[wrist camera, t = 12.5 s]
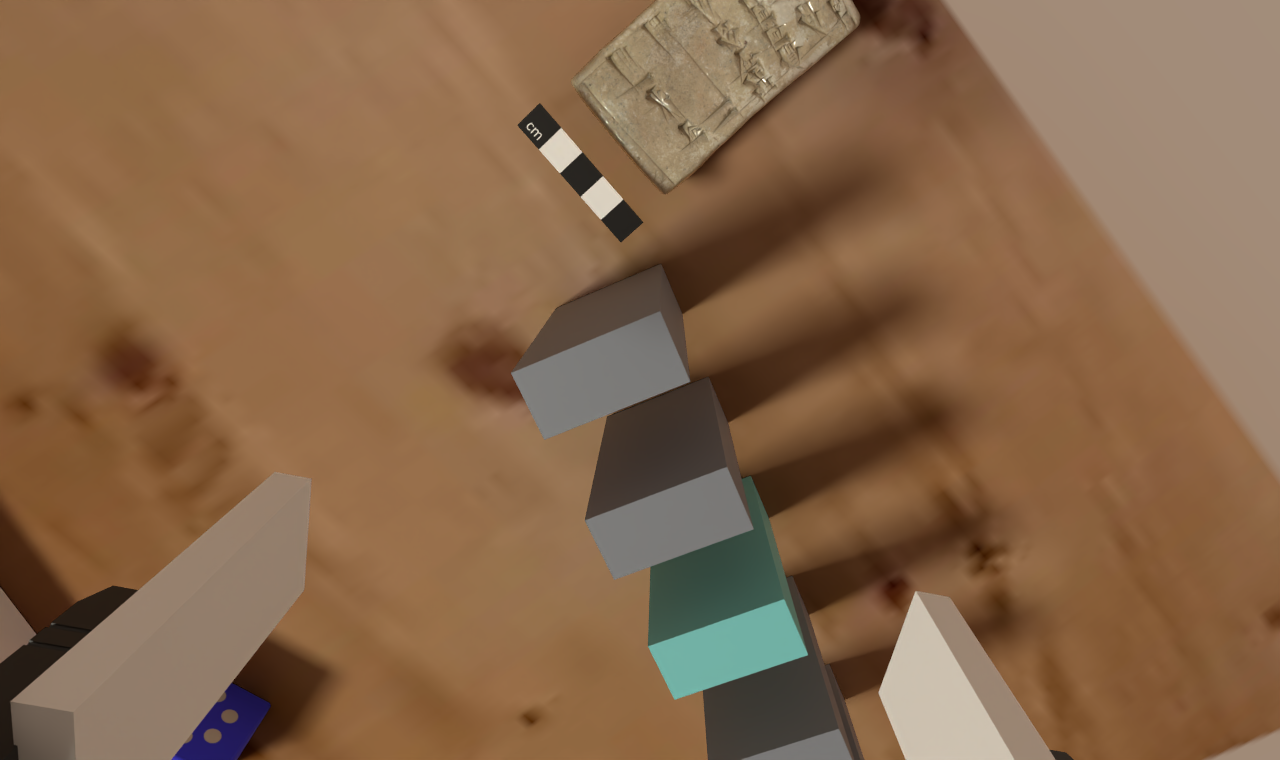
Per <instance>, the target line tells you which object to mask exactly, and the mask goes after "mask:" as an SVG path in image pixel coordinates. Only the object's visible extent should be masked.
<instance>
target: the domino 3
mask: <svg viewBox="0 0 1280 760" xmlns="http://www.w3.org/2000/svg"><path fill="white" fill-rule="evenodd" d="M742 483H743V487H744V491H745V495H746V499H747V504H748V508H749V512H750V516H751V520H752V524H753V528H754V529H753V530H750V531H747V532H745V533H742V534H739V535H736V536H734V537H731V538H728V539H725V540H723V541H720V542H717V543H714V544H712V545H709V546H706V547H703V548H700V549H698V550H695V551H692V552H689V553H687V554H684V555H681V556H678V557H676V558H673V559H670V560H667V561H665V562H662V563H659V564H656V565H654V566H651V570H650V601H649V632H648V647H649V649H650V651H651V653H652V655H653V657H654V659H655V661H656V663H657V665H658V667H659V669H660V671H661V673H662V675H663V677H664V679H665V681H666V683H667V685H668V687H669V689H670V691H671V693H672V695H673V697H674V699H678V698H681V697H684V696H687V695H690V694H693V693H696V692H699V691H702V690H705V689H708V688H711V687H714V686H717V685H720V684H723V683H726V682H729V681H732V680H735V679H738V678H741V677H744V676H747V675H750V674H753V673H756V672H759V671H762V670H765V669H768V668H771V667H774V666H777V665H780V664H783V663H786V662H789V661H792V660H795V659H798V658H801V657H804V656H807V655H808V653H807V649H806V646H805V642H804V639H803V635H802V632H801V628H800V625H799V621H798V618H797V614H796V611H795V607H794V604H793V601H792V597H791V594H790V590H789V587H788V583H787V580H786V576H785V573H784V569H783V566H782V562H781V559H780V555H779V552H778V548H777V545H776V542H775V538H774V535H773V531H772V528H771V524H770V521H769V518H768V515H767V513H766V511H765V508H764V506H763V503H762V501H761V499H760V496H759V494H758V492H757V489H756V487H755V484H754V482H753V480H752V477H751V476H748V477H746V478H743V479H742Z"/></svg>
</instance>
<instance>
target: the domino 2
mask: <svg viewBox="0 0 1280 760" xmlns="http://www.w3.org/2000/svg"><path fill="white" fill-rule="evenodd" d="M585 522H586V524H587V526H588V528H589V530H590V532H591V534H592V536H593V538H594V540H595V542H596V544H597V546H598V548H599V550H600V552H601V554H602V556H603V558H604V560H605V562H606V564H607V566H608V568H609V570H610V572H611V574H612V576H613V578H614V580H615V579H618V578H620V577H623V576H626V575H629V574H631V573H634V572H637V571H640V570H643V569H645V568H648V567H651V566H654V565H656V564H659V563H662V562H665V561H667V560H670V559H673V558H676V557H678V556H681V555H684V554H687V553H689V552H692V551H695V550H698V549H700V548H703V547H706V546H709V545H712V544H714V543H717V542H720V541H723V540H725V539H728V538H731V537H734V536H736V535H739V534H742V533H745V532H747V531H750V530H753V529H754V528H753V524H752V520H751V516H750V512H749V508H748V504H747V499H746V495H745V491H744V487H743V483H742V479H741V475H740V470H739V466H738V462H737V458H736V454H735V450H734V446H733V441H732V437H731V433H730V429H729V425H728V422H727V419H726V417H725V414H724V412H723V410H722V407H721V405H720V403H719V400H718V398H717V395H716V393H715V391H714V388H713V386H712V383H711V381H710V379H709V377H706V378H704V379H701V380H699V381H696V382H694V383H691V384H689V385H686V386H684V387H681V388H679V389H676V390H674V391H671V392H668V393H666V394H663V395H661V396H658V397H656V398H653V399H651V400H648V401H646V402H643V403H641V404H638V405H636V406H633V407H631V408H628V409H626V410H623V411H621V412H618V413H616V414H613V415H611V416H608V417H607V420H606V424H605V429H604V434H603V438H602V443H601V447H600V452H599V457H598V461H597V466H596V471H595V475H594V480H593V485H592V489H591V494H590V499H589V503H588V508H587V512H586V517H585Z"/></svg>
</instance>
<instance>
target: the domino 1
mask: <svg viewBox="0 0 1280 760" xmlns="http://www.w3.org/2000/svg"><path fill="white" fill-rule="evenodd" d="M511 374H512V376H513V378H514V380H515V382H516V384H517V386H518V388H519V390H520V392H521V394H522V396H523V398H524V400H525V402H526V404H527V406H528V408H529V410H530V412H531V414H532V416H533V418H534V420H535V422H536V424H537V426H538V428H539V430H540V432H541V434H542V436H543V438H544V440H545V439H547V438H550V437H553V436H555V435H558V434H560V433H563V432H565V431H568V430H570V429H573V428H575V427H578V426H580V425H583V424H585V423H588V422H590V421H593V420H595V419H598V418H600V417H603V416H605V415H608V414H610V413H613V412H615V411H618V410H620V409H623V408H625V407H628V406H630V405H633V404H635V403H638V402H641V401H643V400H646V399H648V398H651V397H653V396H656V395H658V394H661V393H663V392H666V391H668V390H671V389H673V388H676V387H678V386H681V385H683V384H686V383H688V382H690V375H689V366H688V358H687V349H686V341H685V332H684V324H683V315H682V312H681V310H680V307H679V305H678V303H677V300H676V298H675V295H674V293H673V291H672V288H671V286H670V283H669V281H668V279H667V276H666V274H665V272H664V269H663V267H662V264H659V265H657V266H654V267H652V268H650V269H647V270H645V271H643V272H640V273H638V274H635V275H633V276H631V277H628V278H626V279H624V280H621V281H619V282H617V283H614V284H612V285H610V286H607V287H605V288H603V289H600V290H598V291H595V292H593V293H591V294H588V295H586V296H584V297H581V298H579V299H577V300H574V301H572V302H570V303H567V304H565V305H563V306H560V307H558V308H556V309H555V311H554V312H553V314H552V315H551V316H550V318H549V319H548V321H547V322H546V324H545V325H544V326H543V328H542V329H541V331H540V332H539V334H538V335H537V337H536V338H535V339H534V341H533V342H532V344H531V345H530V347H529V348H528V349H527V351H526V352H525V354H524V355H523V357H522V358H521V360H520V361H519V362H518V364H517V365H516V367H515V368H514V370H513V371H512V372H511Z"/></svg>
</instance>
